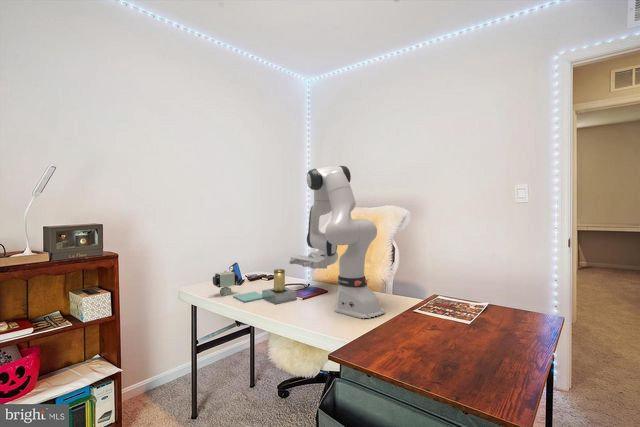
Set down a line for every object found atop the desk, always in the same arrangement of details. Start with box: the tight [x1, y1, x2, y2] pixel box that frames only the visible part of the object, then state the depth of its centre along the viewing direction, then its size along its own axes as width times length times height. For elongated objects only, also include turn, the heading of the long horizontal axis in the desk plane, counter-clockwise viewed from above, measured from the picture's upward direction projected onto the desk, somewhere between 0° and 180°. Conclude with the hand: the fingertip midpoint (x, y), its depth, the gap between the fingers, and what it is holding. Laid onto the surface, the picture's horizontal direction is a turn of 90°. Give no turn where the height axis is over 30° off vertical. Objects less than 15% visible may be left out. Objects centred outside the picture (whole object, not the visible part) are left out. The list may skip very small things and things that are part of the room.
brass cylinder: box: [273, 268, 286, 293], centre depth 160 cm, size 5×5×14 cm
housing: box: [261, 286, 298, 305], centre depth 160 cm, size 12×12×4 cm
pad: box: [232, 291, 264, 304], centre depth 163 cm, size 12×12×1 cm
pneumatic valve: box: [212, 270, 239, 297], centre depth 168 cm, size 6×12×12 cm, turn 128°
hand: (296, 263), depth 169 cm, fingers open, 8 cm apart
